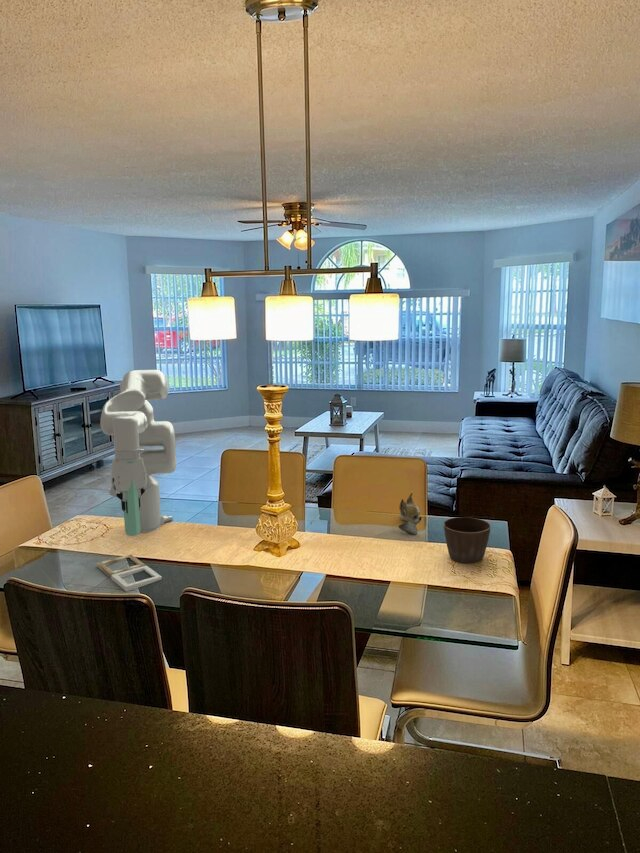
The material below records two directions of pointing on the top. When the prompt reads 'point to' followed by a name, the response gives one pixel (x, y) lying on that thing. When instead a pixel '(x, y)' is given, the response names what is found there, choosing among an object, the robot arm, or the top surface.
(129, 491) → the container
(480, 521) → the plant pot
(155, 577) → the stand
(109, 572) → the stand
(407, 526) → the ceramic sculpture
